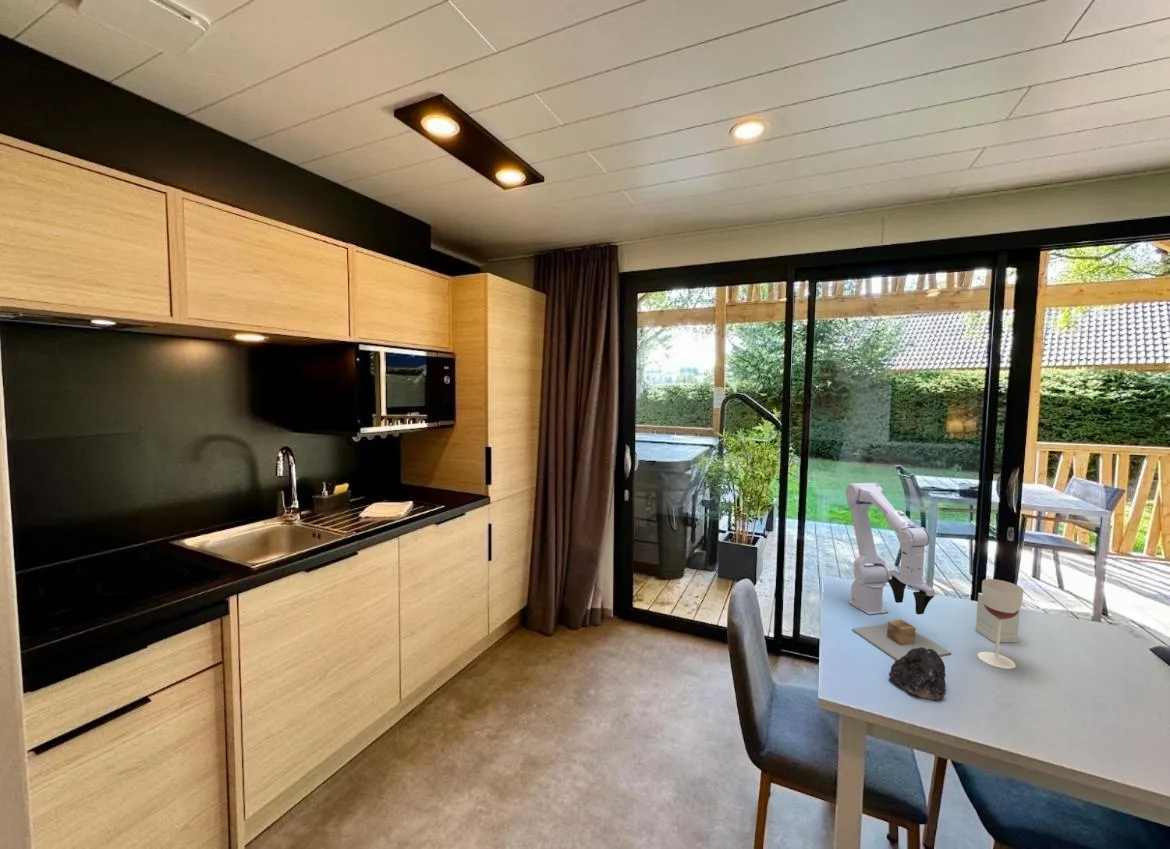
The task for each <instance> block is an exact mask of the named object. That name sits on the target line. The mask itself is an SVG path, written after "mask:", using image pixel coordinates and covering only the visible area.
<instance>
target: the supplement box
mask: <svg viewBox="0 0 1170 849" xmlns="http://www.w3.org/2000/svg"><path fill="white" fill-rule="evenodd" d="M1020 611H1021V609H1020V610H1019V612H1018V614H1017V615H1016V616H1015V617H1013V618H1009V619H1002V621H1001V633H1000V643H1018V639H1019V638H1018V637H1019V623H1020V622H1019V621H1020ZM975 620H976V621H975V622H976V623H975V631H976V632H977V633H979V634H980V635H982V636H984V637H985V638H986V639H988V640H990V641H991V642H993V643H996V634H997V622H998V618H997V617H995V616H993V615H992V614H991V613H990V612H988V611H987V609H986V608H985V606H984V603H983V600H982V592H978V593H977V604H976V619H975Z"/></svg>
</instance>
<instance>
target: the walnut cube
mask: <svg viewBox="0 0 1170 849" xmlns="http://www.w3.org/2000/svg"><path fill="white" fill-rule="evenodd" d="M887 624H888V627H887V637H888V638H890V639H891V640H893V641H894V642H896V643H898V644H899V645H907V644H914V643H915V632H916V627H915V626H914V625H912V624H910V623H908V622H907V621H905V620H903V619H896V620H888V621H887Z"/></svg>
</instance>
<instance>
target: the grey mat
mask: <svg viewBox="0 0 1170 849" xmlns="http://www.w3.org/2000/svg"><path fill="white" fill-rule="evenodd" d="M887 627H888V623H884V624H877V625H868V626H862V627H854V628H851V631H852V632H853V633H855V634H856V635H857V636H860V638H863V639H864V640H865V641H867V642H868V643H870V644H871V645H873V646H874V647H876V648H877V649H879V650H880V651H882V652H883V653H884V654H886V655H888V656H889V657H890V658H892V659H893V660H894V661H896V660H899V659H900V658H901V657H903V656H905V655H907V653H908V652H909V651H910V650H911V649H915V648H919V647H923V648H926V649H927V650H928V649H933V650H935V651H936V652H937V654H938V655H939V657H945V656H952V652H951V651H950V650H948V649H946V648H944V647H942V646H940V645H939V644H937V643H935V642H933V641H932V640H930V639H928V638H927V637H925V636H924V635H922V634H920V633H919V632H916V631H915V643H914V644H907V645H899V644H898V643H896V642H894V641H893V640H891V639H890V638H888V637H887Z"/></svg>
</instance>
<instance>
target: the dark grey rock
mask: <svg viewBox="0 0 1170 849" xmlns="http://www.w3.org/2000/svg"><path fill="white" fill-rule="evenodd" d="M888 676H889V679H890V680H892V681H894V682H895V683H896V684H898V686H900V688H901V687H902V688H903V689H904V690H905V691H907V692H908V693H910V694H912V695H915V696H918V697H920V698H921V699H929V700H933V701H935V700H938V699H939V700H940V698H942V697H944V696H945V694H946V691H947V689H946V686H947V684H946V666H945V662H944V660H943V659H942V657H941V656H939V655H938V654H937V652H936V651H935V650H933V649H928V650H927V649H926V648H923V647H919V648H915V649H911V650H910V651H909V652H908V653H907V655H905V656H903V657H901V658H900V659H899V660H894V663H893V664H892V665H891V666H890V672H889V673H888Z"/></svg>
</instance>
